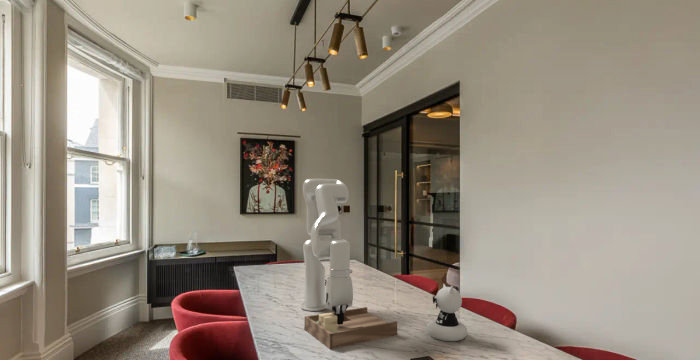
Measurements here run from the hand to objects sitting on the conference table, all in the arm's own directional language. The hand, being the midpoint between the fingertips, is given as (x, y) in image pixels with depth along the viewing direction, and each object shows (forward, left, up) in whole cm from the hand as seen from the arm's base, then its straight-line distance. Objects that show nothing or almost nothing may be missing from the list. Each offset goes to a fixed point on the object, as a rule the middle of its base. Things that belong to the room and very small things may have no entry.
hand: (339, 323), depth 144 cm
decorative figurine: (+20, +35, -4) cm, 40 cm away
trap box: (0, +5, -4) cm, 6 cm away
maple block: (+1, -5, -1) cm, 5 cm away
